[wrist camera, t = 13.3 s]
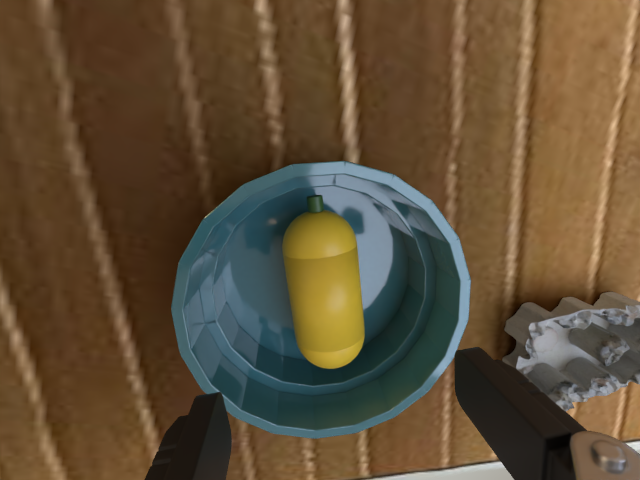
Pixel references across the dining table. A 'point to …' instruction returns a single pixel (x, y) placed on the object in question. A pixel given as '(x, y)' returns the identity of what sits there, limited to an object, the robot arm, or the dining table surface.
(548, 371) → the egg carton
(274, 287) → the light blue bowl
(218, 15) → the dining table surface
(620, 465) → the robot arm
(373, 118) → the dining table surface
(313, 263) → the squash
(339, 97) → the dining table surface
